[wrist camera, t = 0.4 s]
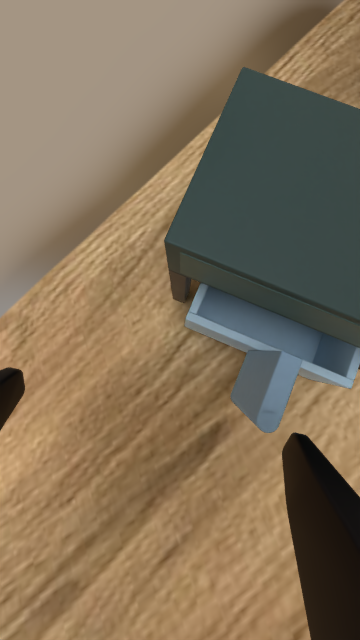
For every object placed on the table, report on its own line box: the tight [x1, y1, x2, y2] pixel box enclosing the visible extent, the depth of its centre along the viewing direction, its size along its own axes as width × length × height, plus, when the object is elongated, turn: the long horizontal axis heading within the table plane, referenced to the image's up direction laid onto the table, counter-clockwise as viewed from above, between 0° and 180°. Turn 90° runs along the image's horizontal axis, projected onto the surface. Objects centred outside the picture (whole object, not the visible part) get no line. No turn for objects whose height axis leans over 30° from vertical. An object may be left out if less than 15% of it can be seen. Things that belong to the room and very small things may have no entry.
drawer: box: [185, 283, 360, 433], centre depth 18 cm, size 14×12×10 cm
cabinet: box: [164, 67, 360, 369], centre depth 17 cm, size 10×16×12 cm, turn 67°
